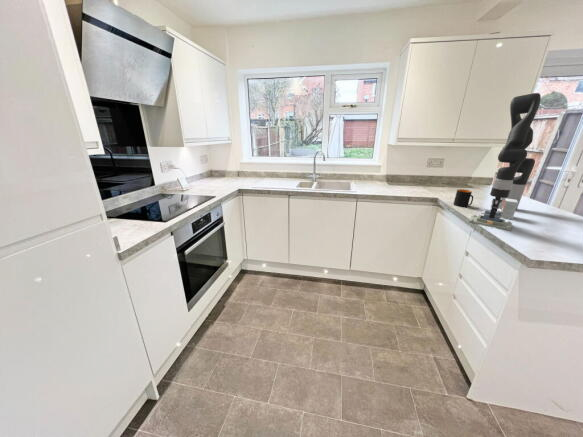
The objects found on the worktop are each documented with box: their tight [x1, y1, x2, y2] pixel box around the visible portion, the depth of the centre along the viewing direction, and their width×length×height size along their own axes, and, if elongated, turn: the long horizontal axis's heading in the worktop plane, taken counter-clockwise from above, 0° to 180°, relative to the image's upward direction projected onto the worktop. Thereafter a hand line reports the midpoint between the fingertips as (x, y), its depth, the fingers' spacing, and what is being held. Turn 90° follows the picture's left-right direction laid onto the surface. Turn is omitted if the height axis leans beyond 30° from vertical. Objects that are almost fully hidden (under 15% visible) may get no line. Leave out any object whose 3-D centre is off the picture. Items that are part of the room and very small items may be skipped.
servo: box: [480, 208, 505, 222], centre depth 128 cm, size 4×10×7 cm, turn 46°
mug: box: [453, 189, 474, 208], centre depth 159 cm, size 8×12×10 cm
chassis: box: [468, 214, 513, 231], centre depth 130 cm, size 12×18×3 cm, turn 47°
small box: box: [500, 198, 519, 220], centre depth 139 cm, size 8×6×10 cm
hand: (492, 216), depth 128 cm, fingers open, 8 cm apart
